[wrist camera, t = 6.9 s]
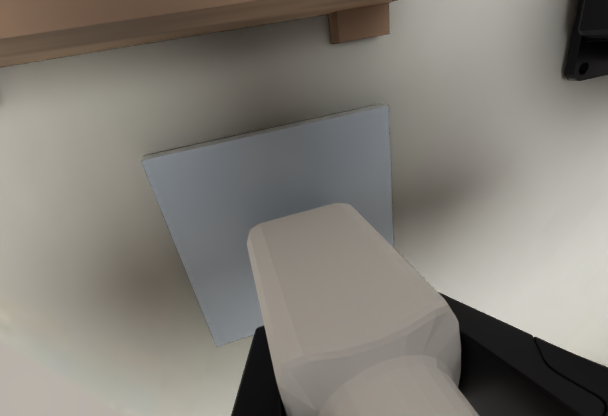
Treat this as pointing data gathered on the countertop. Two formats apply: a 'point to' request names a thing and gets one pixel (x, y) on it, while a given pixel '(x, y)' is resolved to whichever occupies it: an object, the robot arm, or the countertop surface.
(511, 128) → the countertop surface
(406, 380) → the pepper shaker
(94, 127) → the countertop surface
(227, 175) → the slate coaster
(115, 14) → the walnut screen
